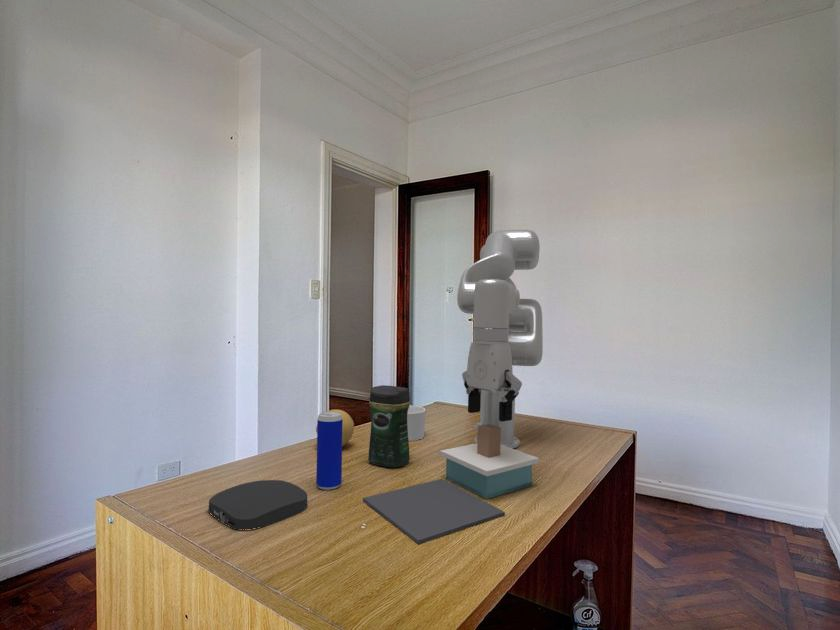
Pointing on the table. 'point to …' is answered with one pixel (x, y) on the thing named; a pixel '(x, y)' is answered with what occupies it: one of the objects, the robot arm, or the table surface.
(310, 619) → the table surface
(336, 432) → the beverage can
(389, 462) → the coffee jar
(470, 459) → the lid
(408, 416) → the mug
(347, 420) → the stress ball
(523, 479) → the square tray
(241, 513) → the media streaming box
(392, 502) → the mat
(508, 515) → the table surface
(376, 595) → the table surface
